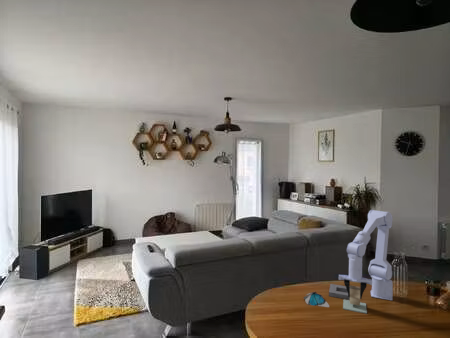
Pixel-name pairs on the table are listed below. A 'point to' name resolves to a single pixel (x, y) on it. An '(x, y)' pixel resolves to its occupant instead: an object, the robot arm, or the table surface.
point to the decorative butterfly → (315, 300)
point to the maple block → (354, 295)
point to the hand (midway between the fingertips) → (354, 297)
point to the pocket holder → (338, 291)
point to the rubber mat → (354, 306)
